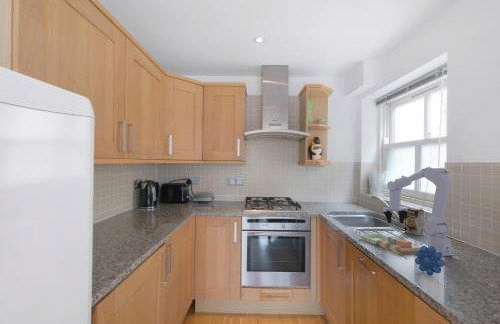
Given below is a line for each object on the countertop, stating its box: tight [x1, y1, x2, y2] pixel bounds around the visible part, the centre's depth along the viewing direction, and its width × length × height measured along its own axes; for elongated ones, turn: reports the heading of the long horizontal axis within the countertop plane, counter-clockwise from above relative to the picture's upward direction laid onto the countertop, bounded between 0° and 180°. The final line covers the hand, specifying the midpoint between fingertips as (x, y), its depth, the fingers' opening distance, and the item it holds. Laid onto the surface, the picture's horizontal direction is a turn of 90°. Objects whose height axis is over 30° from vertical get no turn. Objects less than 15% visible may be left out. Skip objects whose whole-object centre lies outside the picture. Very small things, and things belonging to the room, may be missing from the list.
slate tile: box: [388, 235, 403, 244], centre depth 135 cm, size 5×5×2 cm
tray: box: [359, 233, 389, 246], centre depth 148 cm, size 13×14×2 cm
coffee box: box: [404, 207, 425, 236], centre depth 166 cm, size 9×6×16 cm
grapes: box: [414, 245, 446, 276], centre depth 102 cm, size 12×7×12 cm, turn 20°
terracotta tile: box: [396, 238, 413, 247], centre depth 130 cm, size 5×5×2 cm
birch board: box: [377, 239, 422, 256], centre depth 133 cm, size 16×12×3 cm
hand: (395, 223), depth 151 cm, fingers open, 7 cm apart
